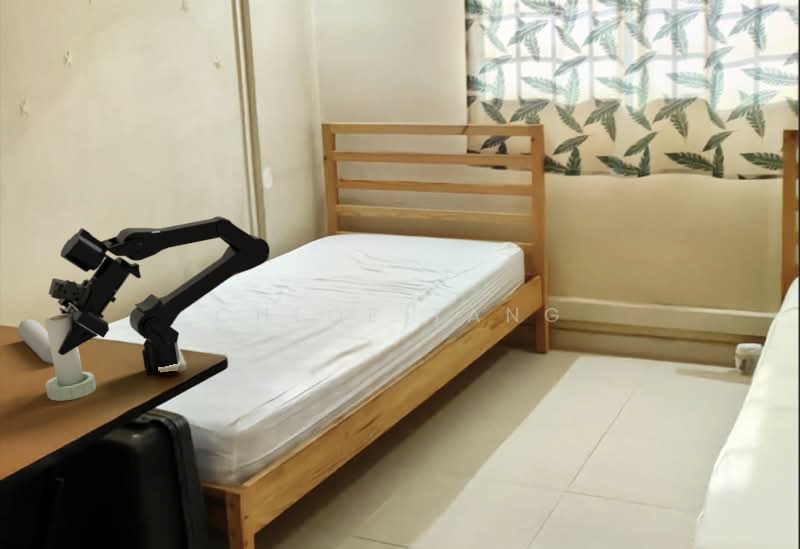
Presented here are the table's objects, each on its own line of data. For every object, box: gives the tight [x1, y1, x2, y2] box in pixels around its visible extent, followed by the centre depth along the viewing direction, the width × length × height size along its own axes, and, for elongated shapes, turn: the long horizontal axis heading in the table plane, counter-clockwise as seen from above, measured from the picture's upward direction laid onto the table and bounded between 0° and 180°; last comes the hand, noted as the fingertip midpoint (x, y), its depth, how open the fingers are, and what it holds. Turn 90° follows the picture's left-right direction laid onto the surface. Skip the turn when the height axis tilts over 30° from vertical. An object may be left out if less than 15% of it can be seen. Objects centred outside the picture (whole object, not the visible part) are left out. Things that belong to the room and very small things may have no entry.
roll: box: [44, 313, 84, 385], centre depth 193 cm, size 5×5×13 cm
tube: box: [17, 318, 54, 365], centre depth 222 cm, size 5×5×25 cm
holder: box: [45, 371, 97, 402], centre depth 195 cm, size 9×9×2 cm
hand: (57, 350), depth 192 cm, fingers closed on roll, 5 cm apart
